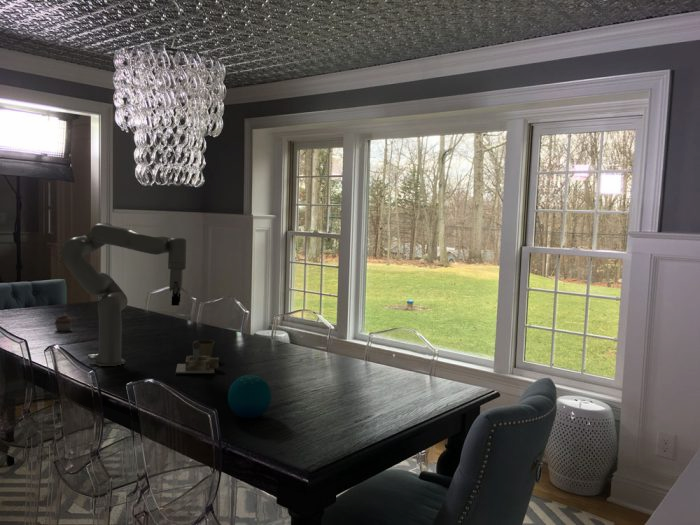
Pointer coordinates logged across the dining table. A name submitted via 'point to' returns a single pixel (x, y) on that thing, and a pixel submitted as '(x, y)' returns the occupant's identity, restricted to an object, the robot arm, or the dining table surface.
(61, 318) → the cupcake
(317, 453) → the dining table surface
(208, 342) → the flower pot
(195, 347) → the post stand
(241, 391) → the decorative orb
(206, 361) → the birch loop
